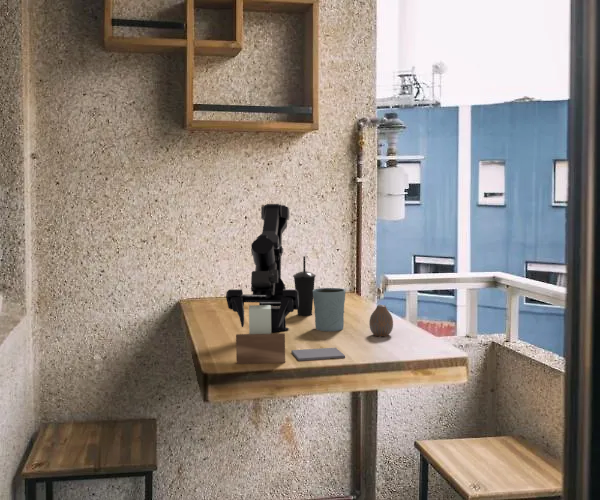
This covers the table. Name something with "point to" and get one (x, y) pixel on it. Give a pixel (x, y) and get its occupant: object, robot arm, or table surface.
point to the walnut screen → (260, 348)
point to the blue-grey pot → (329, 308)
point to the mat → (317, 354)
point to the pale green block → (260, 319)
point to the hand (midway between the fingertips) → (260, 326)
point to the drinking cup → (304, 290)
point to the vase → (381, 321)
